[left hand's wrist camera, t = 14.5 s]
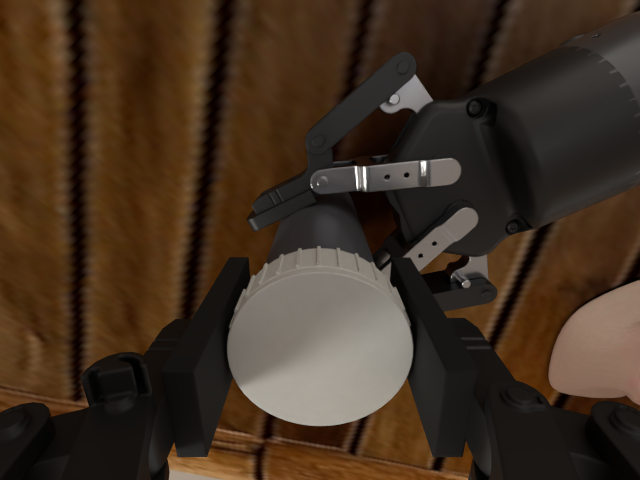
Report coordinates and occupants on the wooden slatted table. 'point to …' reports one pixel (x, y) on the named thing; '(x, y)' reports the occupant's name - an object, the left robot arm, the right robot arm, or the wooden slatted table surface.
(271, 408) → the lid
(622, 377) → the anatomical model
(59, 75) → the wooden slatted table surface
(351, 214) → the jar
